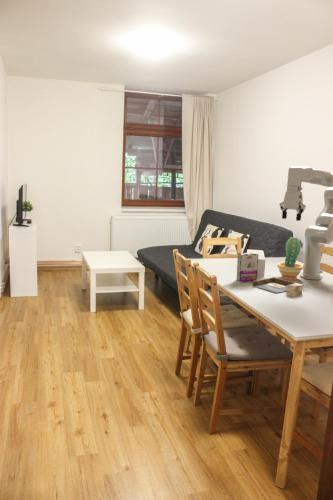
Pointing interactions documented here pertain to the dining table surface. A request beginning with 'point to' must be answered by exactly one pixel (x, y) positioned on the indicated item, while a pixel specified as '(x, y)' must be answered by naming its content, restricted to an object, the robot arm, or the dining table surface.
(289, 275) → the potted cactus
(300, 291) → the maple block
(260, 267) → the stack of papers
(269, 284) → the corner arena
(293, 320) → the dining table surface
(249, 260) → the candy bar box
